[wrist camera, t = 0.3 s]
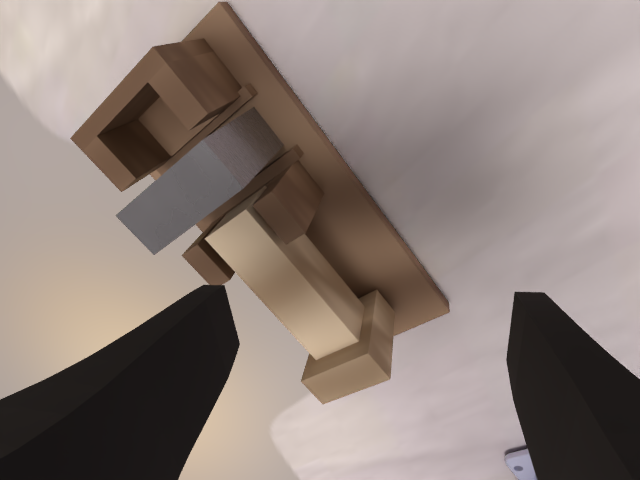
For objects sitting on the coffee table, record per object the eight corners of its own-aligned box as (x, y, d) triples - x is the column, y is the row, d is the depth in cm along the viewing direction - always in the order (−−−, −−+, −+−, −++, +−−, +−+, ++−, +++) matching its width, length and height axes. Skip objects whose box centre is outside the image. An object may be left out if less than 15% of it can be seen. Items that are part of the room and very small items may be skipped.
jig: (448, 302, 21) (456, 369, 18) (326, 355, 25) (310, 421, 21) (226, 2, 17) (168, 1, 13) (114, 120, 20) (41, 148, 16)
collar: (284, 144, 18) (243, 188, 14) (208, 202, 20) (153, 255, 16) (254, 106, 18) (202, 139, 13) (180, 169, 20) (115, 215, 16)
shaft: (395, 312, 21) (390, 379, 17) (338, 337, 23) (322, 404, 19) (281, 170, 19) (247, 213, 15) (227, 210, 20) (183, 258, 16)
